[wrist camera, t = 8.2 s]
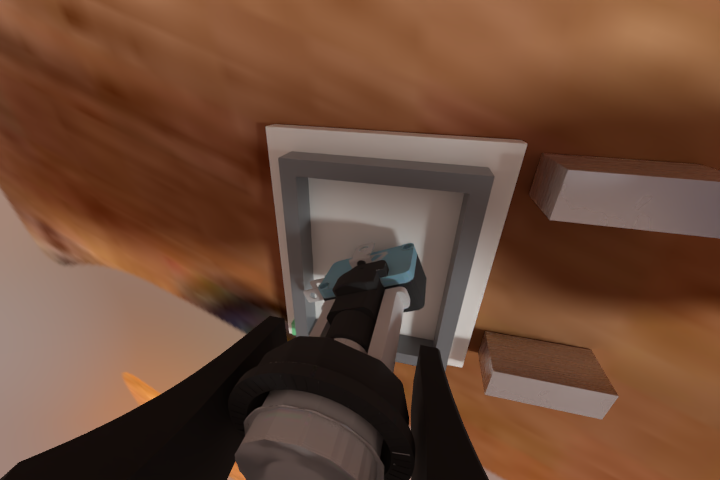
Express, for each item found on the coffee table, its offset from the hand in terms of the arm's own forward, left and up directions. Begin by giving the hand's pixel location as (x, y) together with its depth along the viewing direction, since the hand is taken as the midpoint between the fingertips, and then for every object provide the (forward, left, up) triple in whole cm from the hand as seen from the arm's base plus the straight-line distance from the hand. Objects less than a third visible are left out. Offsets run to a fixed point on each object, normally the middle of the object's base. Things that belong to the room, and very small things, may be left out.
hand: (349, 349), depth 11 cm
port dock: (0, 0, -7) cm, 7 cm away
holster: (-10, 0, -7) cm, 12 cm away
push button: (0, 0, -6) cm, 6 cm away
